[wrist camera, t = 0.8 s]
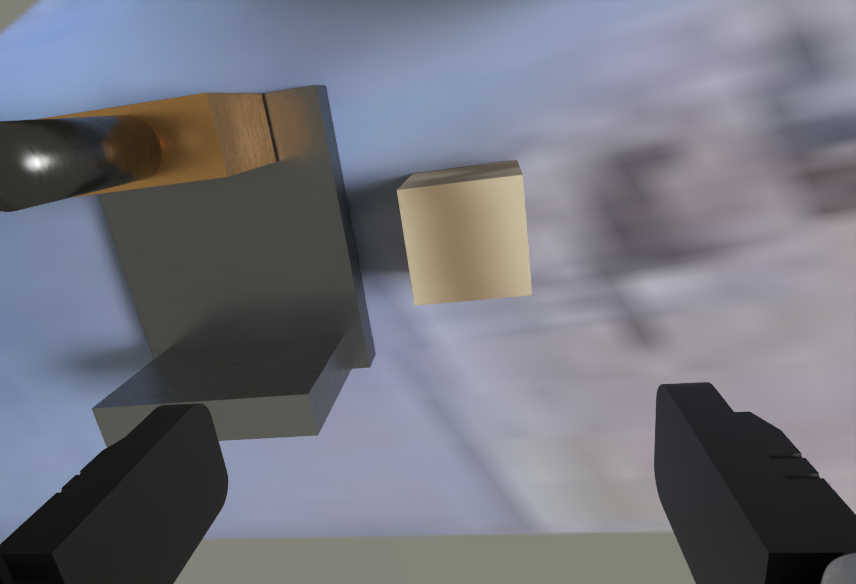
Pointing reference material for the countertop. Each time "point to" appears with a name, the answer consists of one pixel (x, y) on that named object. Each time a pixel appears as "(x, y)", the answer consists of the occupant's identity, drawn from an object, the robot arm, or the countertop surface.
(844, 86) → the countertop surface
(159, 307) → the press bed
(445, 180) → the block
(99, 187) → the press ram
